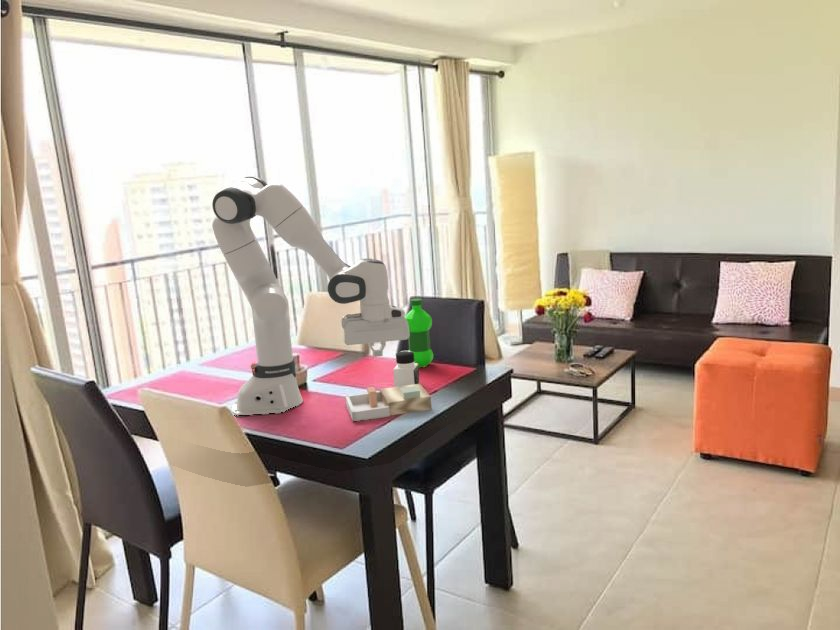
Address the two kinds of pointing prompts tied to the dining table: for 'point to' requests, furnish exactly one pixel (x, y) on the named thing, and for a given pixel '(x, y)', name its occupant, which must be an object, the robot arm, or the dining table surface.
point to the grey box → (365, 407)
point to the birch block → (405, 400)
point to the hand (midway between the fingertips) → (377, 356)
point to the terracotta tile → (372, 397)
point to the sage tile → (410, 392)
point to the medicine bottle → (405, 369)
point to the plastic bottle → (419, 333)
